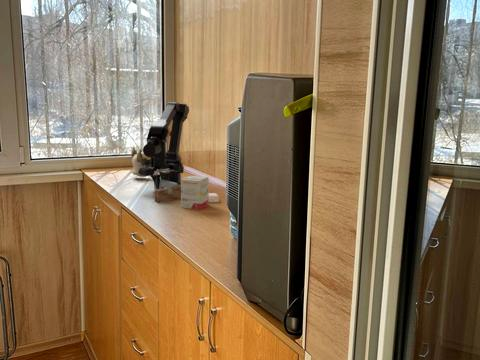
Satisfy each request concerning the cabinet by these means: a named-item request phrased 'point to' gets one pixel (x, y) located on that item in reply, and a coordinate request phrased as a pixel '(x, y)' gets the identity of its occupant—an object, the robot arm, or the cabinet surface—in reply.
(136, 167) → the ceramic sculpture
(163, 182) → the light blue block
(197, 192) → the ink box
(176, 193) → the brown boxy piece
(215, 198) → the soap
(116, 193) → the cabinet surface
